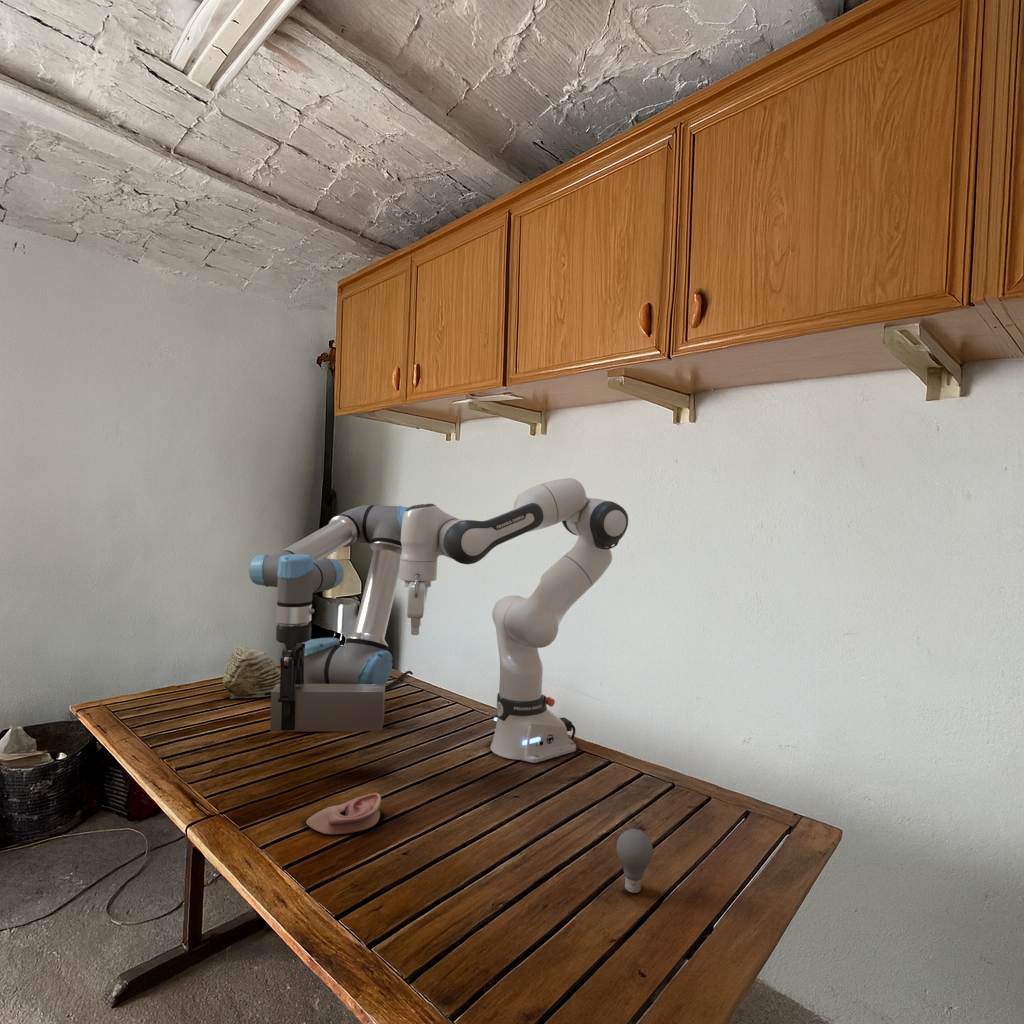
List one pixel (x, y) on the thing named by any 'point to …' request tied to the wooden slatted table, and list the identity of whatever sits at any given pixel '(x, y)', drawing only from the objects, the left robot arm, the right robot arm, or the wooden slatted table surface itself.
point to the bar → (333, 707)
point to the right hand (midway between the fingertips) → (415, 630)
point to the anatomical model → (347, 816)
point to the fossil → (250, 673)
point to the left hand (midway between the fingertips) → (291, 724)
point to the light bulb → (634, 857)
